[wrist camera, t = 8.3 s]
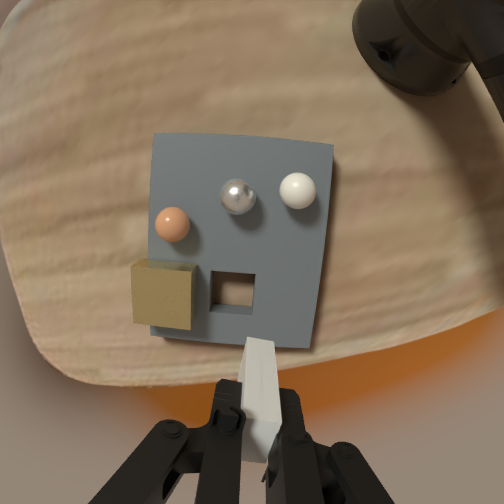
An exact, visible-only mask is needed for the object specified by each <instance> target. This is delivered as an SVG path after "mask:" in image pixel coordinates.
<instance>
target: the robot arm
mask: <svg viewBox="0 0 504 504" xmlns="http://www.w3.org/2000/svg"><path fill="white" fill-rule="evenodd" d="M352 29H353V35H354V39H355V42H356V44H357V46H358V49H359V50H360V52H361V54H362V56H363V57H364V59H365V60H366V61H367V63H368V64H369V65H370V66H371V67H372V69H373V70H374V71H375V72H376V73H377V74H378V75H380V76H381V77H382V78H383V79H384V80H386V81H387V82H388V83H390V84H391V85H393V86H395V87H396V88H398V89H400V90H402V91H405V92H407V93H410V94H414V95H420V96H431V95H436V94H438V93H441V92H443V91H446V90H448V89H450V88H451V87H453V86H454V85H455V84H456V83H457V82H458V81H459V79H460V78H461V76H462V74H463V73H464V72H465V71H466V69H467V68H468V67H469V65H470V64H471V62H472V63H473V65H474V66H475V68H476V69H477V71H478V73H479V75H480V76H481V78H482V80H483V82H484V84H485V86H486V88H487V90H488V91H489V93H490V95H491V97H492V99H493V101H494V103H495V105H496V107H497V109H498V111H499V114H500V116H501V118H502V120H503V122H504V0H362V1H361V3H360V4H359V6H358V7H357V9H356V10H355V13H354V16H353V21H352ZM301 410H302V409H301V405H300V398H299V396H298V394H297V393H296V392H295V391H294V390H292V389H285V388H279V386H278V377H277V367H276V357H275V347H274V341H269V340H263V339H257V338H252V337H247V340H246V344H245V348H244V352H243V357H242V361H241V365H240V369H239V373H238V381H231V380H226V379H221V380H220V381H219V382H218V383H217V384H216V388H215V393H214V398H213V404H212V409H211V414H210V419H209V422H208V423H207V424H206V425H204V426H202V427H199V428H187V427H186V426H185V425H184V424H183V423H181V422H179V421H176V420H163V421H160V422H159V423H157V424H156V425H155V426H154V428H153V429H152V430H151V431H150V432H149V433H148V435H147V436H146V437H145V438H144V440H143V441H142V442H141V443H140V444H139V445H138V447H137V448H136V449H135V450H134V452H132V454H131V455H130V456H129V457H128V458H127V460H126V461H125V462H124V463H123V464H122V466H121V467H120V468H119V469H118V470H117V471H116V473H115V474H114V475H113V476H112V477H111V478H110V479H109V481H108V482H107V483H106V484H105V485H104V486H103V487H102V488H101V490H100V491H99V492H98V493H97V495H95V496H94V498H93V499H92V500H91V501H90V502H89V503H88V504H165V503H166V501H167V500H168V498H169V497H170V495H171V493H172V492H173V490H174V488H175V487H176V485H177V484H178V482H179V480H180V479H181V477H182V476H183V474H184V473H200V474H199V480H198V486H197V492H196V498H195V503H194V504H239V491H240V471H241V470H240V469H241V461H248V462H256V463H266V461H267V458H268V467H267V469H266V471H265V474H264V476H263V478H262V481H261V482H264V480H265V479H266V504H394V502H393V500H392V499H391V497H390V496H389V495H388V493H387V491H386V490H385V489H384V487H383V485H382V484H381V482H380V481H379V479H378V478H377V476H376V475H375V473H374V472H373V471H372V469H371V468H370V466H369V465H368V463H367V461H366V460H365V459H364V457H363V455H362V454H361V453H360V451H359V449H358V448H357V447H356V446H354V445H353V444H351V443H348V442H337V443H335V444H334V445H332V447H328V446H324V445H321V444H318V443H316V442H314V441H313V440H312V437H311V435H309V433H308V432H306V431H305V425H304V420H303V414H302V411H301Z"/></svg>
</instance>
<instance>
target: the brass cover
mask: <svg viewBox="0 0 504 504" xmlns="http://www.w3.org/2000/svg"><path fill="white" fill-rule="evenodd" d="M196 273H197V264H196V263H184V262H172V261H160V260H148V259H140V260H139V261H137V262H136V263H135V264H133V265H132V266H131V286H132V306H133V322H134V323H137V324H144V325H151V326H159V327H167V328H176V329H185V330H191V328H192V325H193V323H194V320H195V318H196Z"/></svg>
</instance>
